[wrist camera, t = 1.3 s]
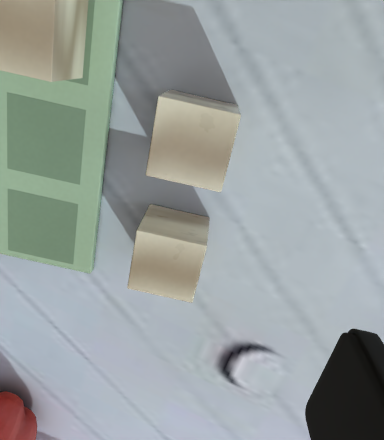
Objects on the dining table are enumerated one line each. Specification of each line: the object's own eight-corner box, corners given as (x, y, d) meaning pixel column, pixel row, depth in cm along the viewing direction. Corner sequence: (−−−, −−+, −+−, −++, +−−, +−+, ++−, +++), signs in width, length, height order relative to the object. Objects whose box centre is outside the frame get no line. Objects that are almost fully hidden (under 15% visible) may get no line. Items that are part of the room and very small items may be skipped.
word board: (-12, -45, 23) (-20, -48, 22) (124, -13, 23) (121, -16, 23) (-5, 247, 32) (-10, 251, 32) (93, 269, 32) (90, 274, 32)
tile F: (149, 203, 29) (136, 229, 25) (209, 217, 29) (207, 245, 25) (140, 255, 31) (126, 288, 27) (196, 267, 31) (192, 303, 27)
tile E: (11, -22, 23) (-41, -43, 18) (88, -4, 23) (55, -20, 18) (11, 62, 25) (-36, 62, 20) (82, 78, 25) (51, 82, 20)
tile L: (169, 89, 26) (158, 95, 21) (238, 105, 26) (241, 114, 21) (157, 156, 28) (145, 175, 23) (221, 170, 28) (220, 192, 23)
